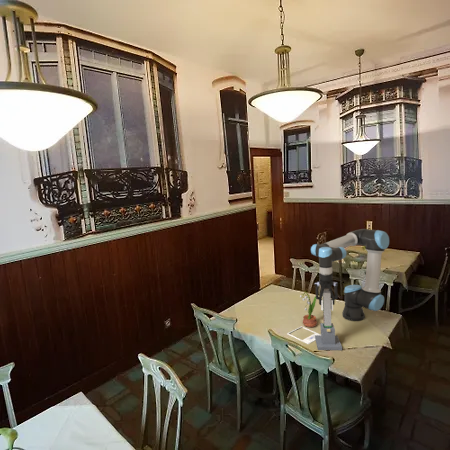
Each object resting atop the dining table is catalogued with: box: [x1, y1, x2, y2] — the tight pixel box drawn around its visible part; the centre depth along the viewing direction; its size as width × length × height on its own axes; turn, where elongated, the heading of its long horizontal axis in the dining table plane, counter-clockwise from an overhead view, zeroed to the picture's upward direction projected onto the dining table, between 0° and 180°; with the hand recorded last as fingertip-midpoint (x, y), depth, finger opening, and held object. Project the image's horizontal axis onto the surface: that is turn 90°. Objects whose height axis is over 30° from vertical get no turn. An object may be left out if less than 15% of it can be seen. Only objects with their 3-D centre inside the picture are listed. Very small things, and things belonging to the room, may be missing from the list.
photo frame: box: [286, 325, 321, 345], centre depth 212 cm, size 15×1×18 cm
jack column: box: [322, 288, 332, 328], centre depth 196 cm, size 4×4×25 cm
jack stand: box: [315, 322, 343, 351], centre depth 198 cm, size 14×14×12 cm
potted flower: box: [299, 292, 318, 328], centre depth 223 cm, size 12×10×25 cm
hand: (326, 309), depth 196 cm, fingers open, 5 cm apart
